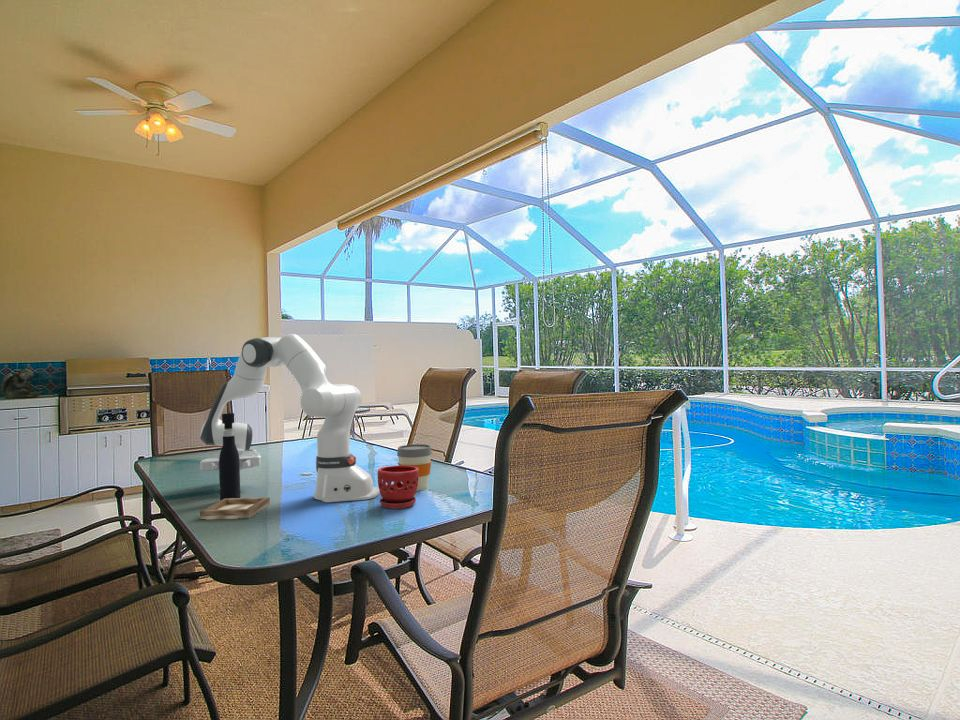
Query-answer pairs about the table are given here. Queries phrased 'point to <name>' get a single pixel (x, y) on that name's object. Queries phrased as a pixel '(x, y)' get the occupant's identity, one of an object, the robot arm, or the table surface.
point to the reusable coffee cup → (417, 461)
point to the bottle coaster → (235, 508)
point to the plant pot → (398, 486)
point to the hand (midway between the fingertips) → (230, 466)
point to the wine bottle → (229, 462)
